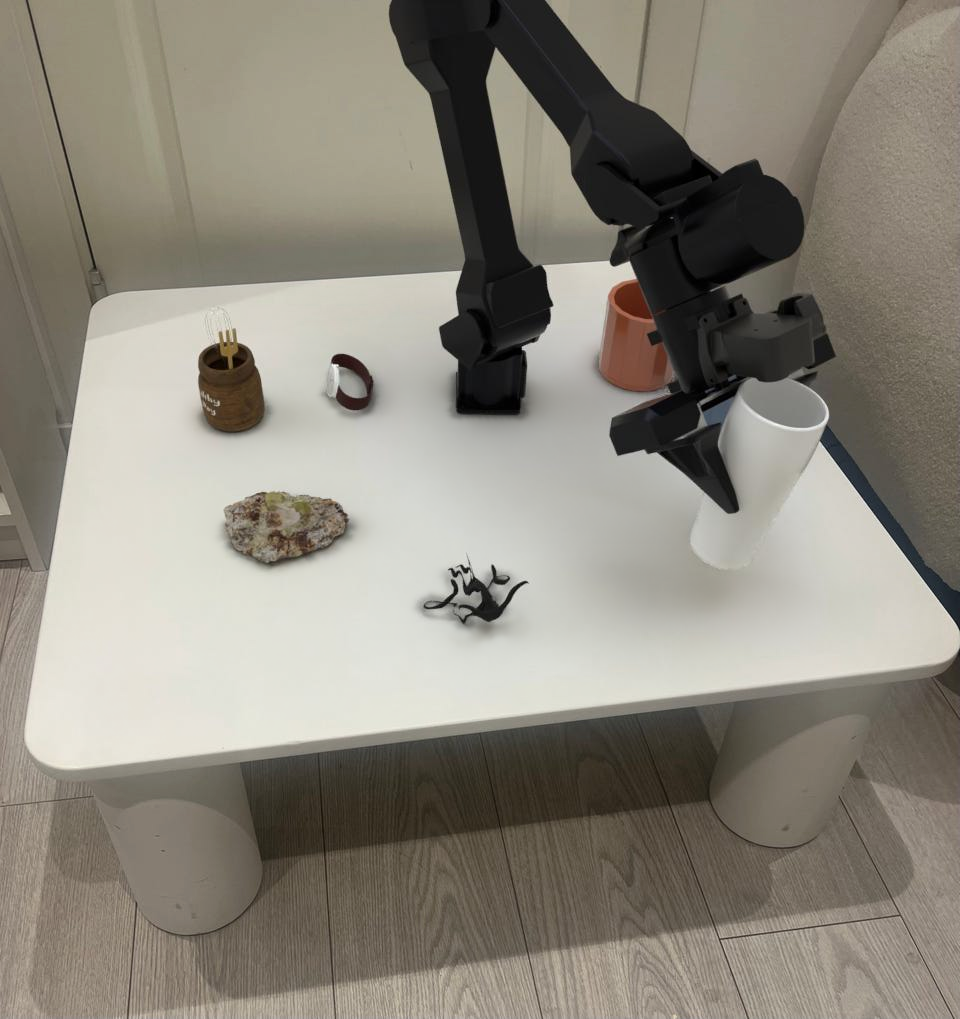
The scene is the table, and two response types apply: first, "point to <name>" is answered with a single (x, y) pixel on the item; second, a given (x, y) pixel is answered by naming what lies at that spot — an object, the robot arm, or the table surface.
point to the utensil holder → (229, 383)
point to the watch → (333, 381)
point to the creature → (487, 606)
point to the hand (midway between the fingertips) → (765, 494)
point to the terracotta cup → (631, 342)
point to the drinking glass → (758, 466)
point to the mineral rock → (283, 524)
